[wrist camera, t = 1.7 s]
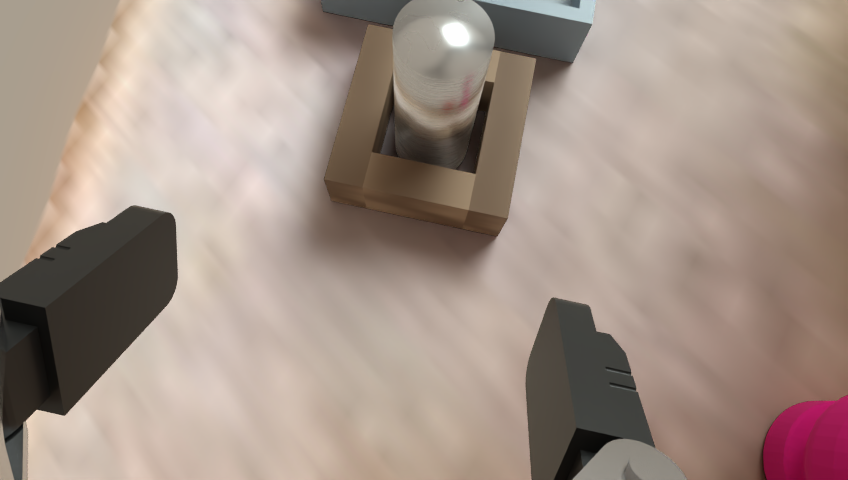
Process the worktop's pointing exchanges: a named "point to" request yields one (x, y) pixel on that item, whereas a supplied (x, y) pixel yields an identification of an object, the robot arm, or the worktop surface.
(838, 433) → the pepper mill
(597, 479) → the robot arm
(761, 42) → the worktop surface
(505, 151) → the socket block
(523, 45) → the parts tray
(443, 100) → the pin
